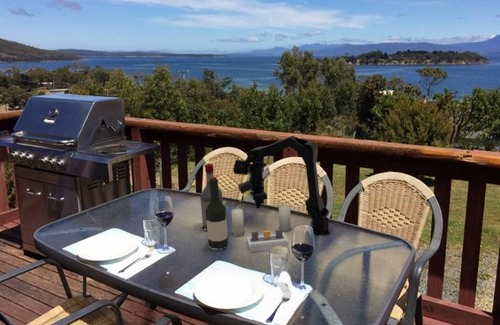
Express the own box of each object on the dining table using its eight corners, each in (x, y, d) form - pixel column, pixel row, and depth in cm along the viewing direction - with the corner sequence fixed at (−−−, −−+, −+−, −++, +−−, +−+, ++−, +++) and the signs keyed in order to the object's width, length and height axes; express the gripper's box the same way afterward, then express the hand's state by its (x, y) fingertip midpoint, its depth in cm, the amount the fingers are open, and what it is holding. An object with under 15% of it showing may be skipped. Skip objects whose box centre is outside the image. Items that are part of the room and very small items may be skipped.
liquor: (222, 231, 191) (218, 167, 183) (202, 231, 191) (197, 168, 183) (224, 223, 200) (220, 161, 192) (205, 223, 200) (200, 162, 192)
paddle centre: (269, 236, 175) (269, 230, 174) (270, 238, 173) (270, 231, 173) (263, 237, 174) (263, 230, 174) (264, 239, 173) (264, 232, 172)
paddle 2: (281, 235, 175) (281, 229, 174) (282, 237, 174) (282, 230, 173) (275, 236, 175) (275, 229, 174) (276, 237, 174) (276, 231, 173)
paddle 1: (257, 238, 174) (257, 231, 173) (258, 239, 173) (258, 232, 172) (251, 238, 174) (251, 232, 173) (252, 240, 172) (251, 233, 172)
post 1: (244, 230, 190) (243, 207, 187) (245, 236, 184) (244, 212, 182) (231, 232, 189) (230, 209, 187) (232, 237, 184) (231, 213, 181)
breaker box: (284, 238, 180) (283, 231, 179) (288, 248, 171) (288, 240, 170) (246, 242, 178) (246, 235, 177) (249, 252, 169) (249, 244, 169)
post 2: (290, 226, 192) (289, 203, 190) (292, 231, 187) (292, 208, 184) (277, 227, 192) (276, 204, 189) (280, 232, 186) (279, 209, 183)
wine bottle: (204, 248, 175) (198, 179, 167) (215, 240, 182) (210, 173, 174) (221, 252, 171) (216, 181, 163) (232, 243, 178) (227, 175, 170)
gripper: (236, 171, 200) (238, 202, 204) (241, 183, 182) (242, 217, 186) (259, 169, 201) (261, 200, 205) (266, 181, 183) (267, 214, 187)
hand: (257, 208), depth 196 cm, fingers closed
